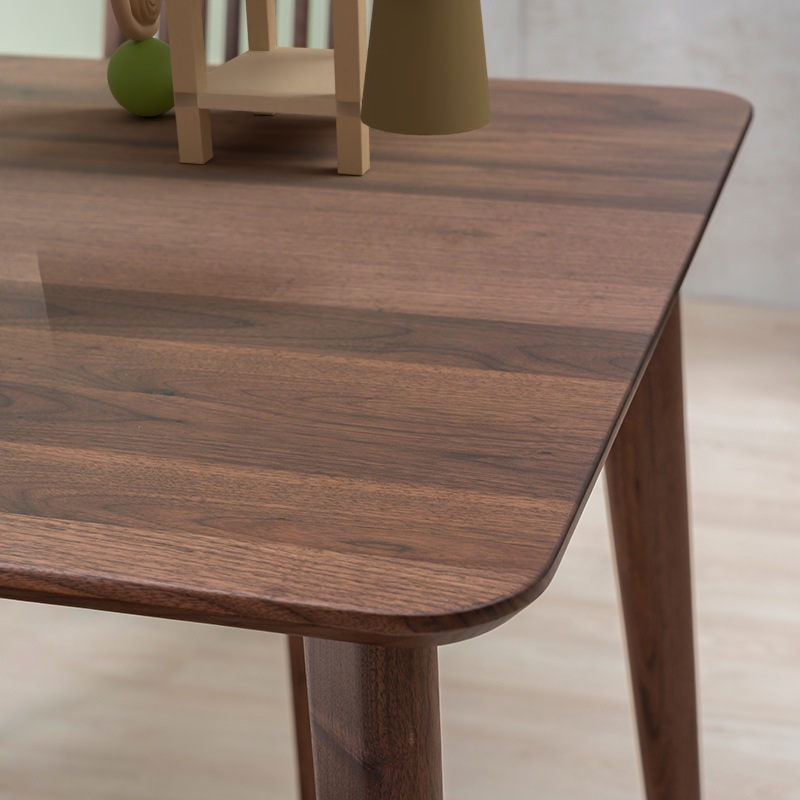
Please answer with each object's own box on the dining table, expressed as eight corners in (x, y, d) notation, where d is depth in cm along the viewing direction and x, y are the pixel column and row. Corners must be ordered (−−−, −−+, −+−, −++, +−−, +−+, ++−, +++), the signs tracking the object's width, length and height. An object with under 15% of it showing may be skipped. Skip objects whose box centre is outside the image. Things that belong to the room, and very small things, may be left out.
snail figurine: (90, 125, 87) (68, -57, 82) (134, 103, 93) (115, -69, 87) (162, 130, 86) (143, -55, 80) (201, 108, 91) (187, -67, 86)
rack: (179, 162, 79) (161, -38, 73) (260, 108, 91) (249, -68, 85) (362, 175, 76) (357, -33, 70) (421, 118, 88) (420, -64, 82)
